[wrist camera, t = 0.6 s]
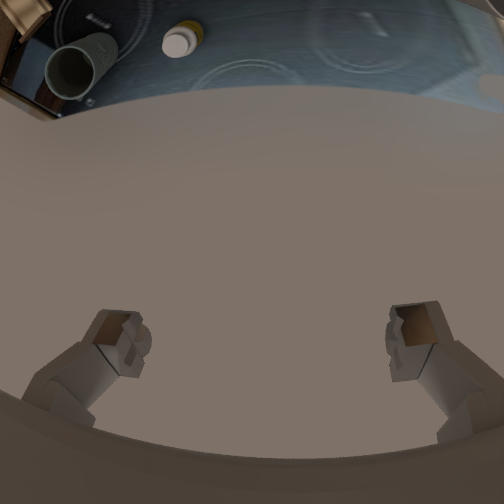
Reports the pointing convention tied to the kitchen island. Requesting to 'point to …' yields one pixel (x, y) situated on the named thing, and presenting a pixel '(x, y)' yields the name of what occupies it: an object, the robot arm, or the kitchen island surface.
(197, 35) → the supplement bottle
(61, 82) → the green cup
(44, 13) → the chute
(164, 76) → the kitchen island surface
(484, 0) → the cylinder vase
